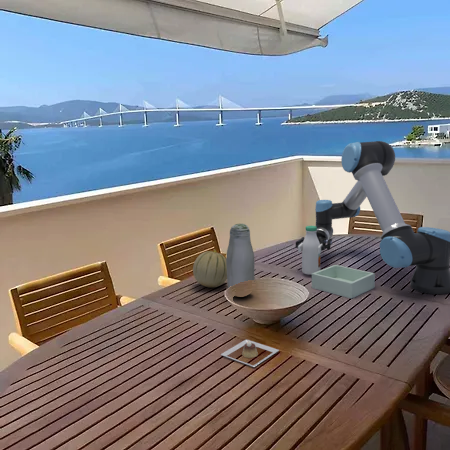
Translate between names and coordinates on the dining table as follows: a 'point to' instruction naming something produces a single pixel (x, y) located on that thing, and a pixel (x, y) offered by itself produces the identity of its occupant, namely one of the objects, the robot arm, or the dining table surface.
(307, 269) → the milk bottle
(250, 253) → the glass bottle
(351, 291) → the tote
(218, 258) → the cantaloupe
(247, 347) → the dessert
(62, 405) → the dining table surface
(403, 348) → the dining table surface
